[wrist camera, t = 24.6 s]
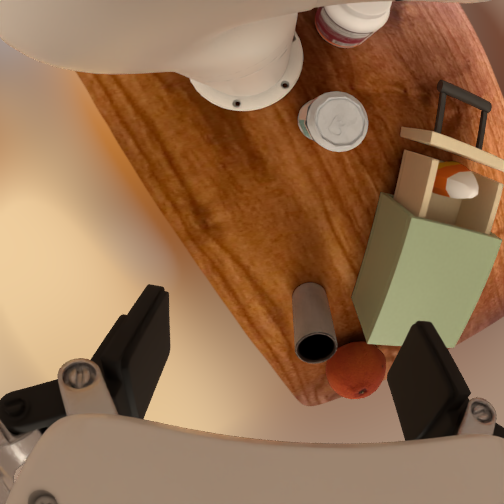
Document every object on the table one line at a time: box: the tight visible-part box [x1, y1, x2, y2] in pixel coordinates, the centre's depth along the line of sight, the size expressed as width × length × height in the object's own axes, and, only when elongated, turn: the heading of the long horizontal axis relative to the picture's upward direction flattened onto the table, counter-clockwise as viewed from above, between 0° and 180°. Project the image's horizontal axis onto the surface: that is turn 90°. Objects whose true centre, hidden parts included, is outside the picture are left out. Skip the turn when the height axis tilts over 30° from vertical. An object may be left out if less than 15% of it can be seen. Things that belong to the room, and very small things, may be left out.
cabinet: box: [351, 192, 502, 348], centre depth 33 cm, size 15×13×10 cm
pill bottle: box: [315, 1, 392, 48], centre depth 22 cm, size 6×6×11 cm
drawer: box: [393, 80, 504, 235], centre depth 28 cm, size 20×11×8 cm, turn 173°
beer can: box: [298, 91, 368, 152], centre depth 26 cm, size 5×5×12 cm
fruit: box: [326, 341, 386, 399], centre depth 41 cm, size 9×9×8 cm
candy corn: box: [432, 161, 479, 199], centre depth 27 cm, size 6×3×8 cm, turn 111°
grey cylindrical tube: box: [292, 283, 338, 363], centre depth 36 cm, size 4×4×10 cm
